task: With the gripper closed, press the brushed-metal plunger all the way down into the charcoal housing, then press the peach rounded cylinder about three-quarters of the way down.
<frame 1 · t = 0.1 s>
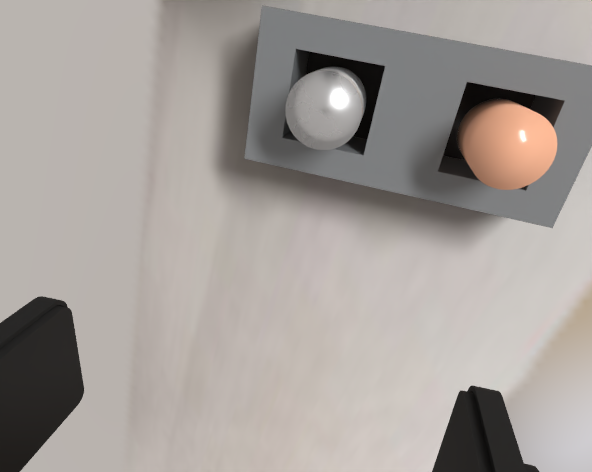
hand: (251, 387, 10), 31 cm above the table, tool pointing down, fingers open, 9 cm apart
metal plunger: (328, 106, 30), point 7 cm above the table, slide at 0.0 cm
plunger housing: (409, 109, 36), on the table
peach rounded cylinder: (501, 141, 29), point 7 cm above the table, slide at 0.0 cm
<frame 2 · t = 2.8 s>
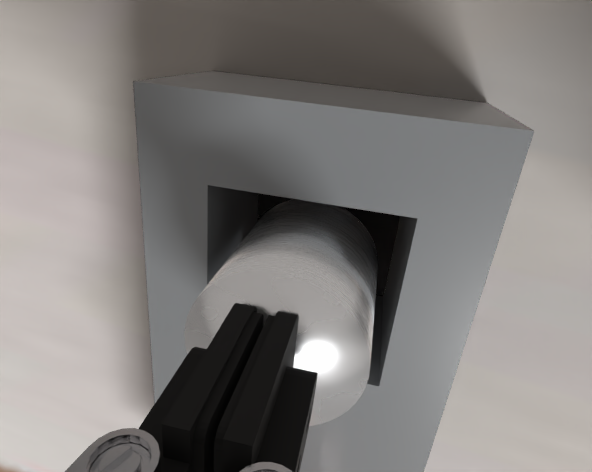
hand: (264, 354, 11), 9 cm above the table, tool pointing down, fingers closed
metal plunger: (295, 300, 14), point 7 cm above the table, slide at 0.8 cm, touching gripper
plunger housing: (311, 330, 22), on the table
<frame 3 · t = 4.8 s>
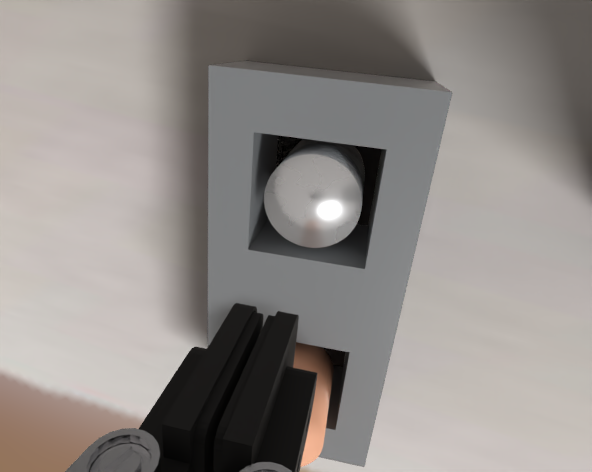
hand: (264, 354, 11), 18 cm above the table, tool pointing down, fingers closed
metal plunger: (318, 187, 24), point 3 cm above the table, slide at 4.1 cm
plunger housing: (315, 255, 29), on the table
peach rounded cylinder: (287, 397, 26), point 7 cm above the table, slide at 0.0 cm
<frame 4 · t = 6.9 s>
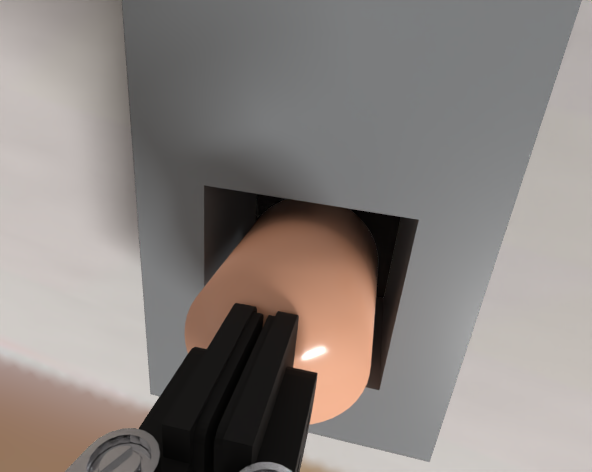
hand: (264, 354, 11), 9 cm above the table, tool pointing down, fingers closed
plunger housing: (342, 84, 17), on the table
peach rounded cylinder: (295, 298, 14), point 6 cm above the table, slide at 1.0 cm, touching gripper
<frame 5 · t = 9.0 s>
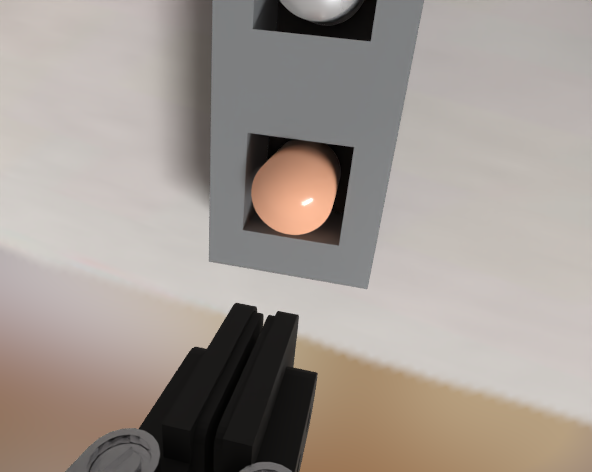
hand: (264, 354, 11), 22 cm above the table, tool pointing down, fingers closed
plunger housing: (318, 82, 29), on the table
peach rounded cylinder: (299, 183, 28), point 4 cm above the table, slide at 3.0 cm
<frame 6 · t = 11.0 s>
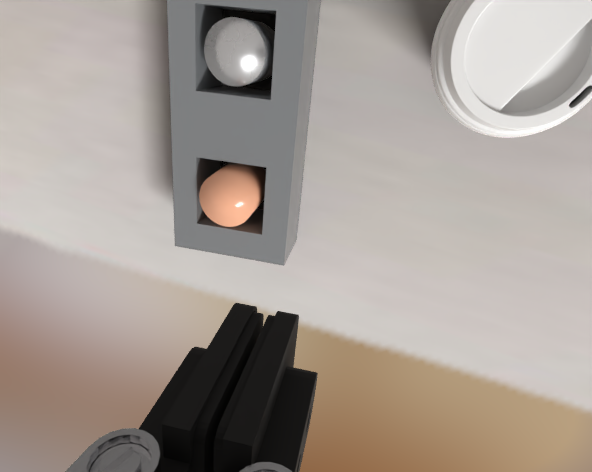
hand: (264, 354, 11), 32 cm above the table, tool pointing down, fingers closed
metal plunger: (244, 52, 36), point 3 cm above the table, slide at 4.1 cm
plunger housing: (252, 119, 41), on the table
coffee cup: (477, 49, 35), on the table
peach rounded cylinder: (236, 191, 40), point 4 cm above the table, slide at 3.0 cm
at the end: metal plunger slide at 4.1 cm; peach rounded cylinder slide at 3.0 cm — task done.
